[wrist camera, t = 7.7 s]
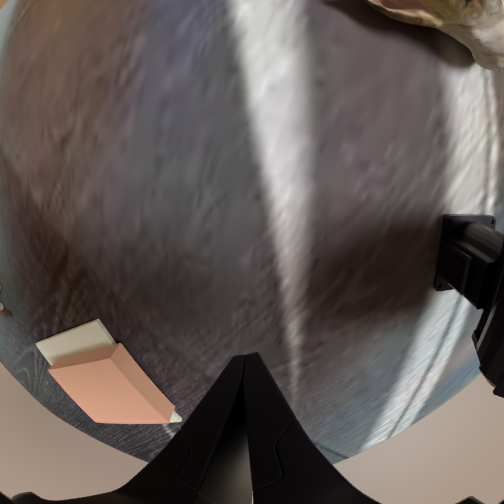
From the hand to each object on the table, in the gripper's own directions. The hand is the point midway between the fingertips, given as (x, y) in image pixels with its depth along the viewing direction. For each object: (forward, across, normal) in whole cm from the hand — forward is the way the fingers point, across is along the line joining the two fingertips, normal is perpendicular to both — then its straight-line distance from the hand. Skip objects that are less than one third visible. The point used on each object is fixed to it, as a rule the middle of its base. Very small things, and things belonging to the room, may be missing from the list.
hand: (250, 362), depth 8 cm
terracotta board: (+11, +14, +12) cm, 21 cm away
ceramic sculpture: (+11, -20, -17) cm, 28 cm away
